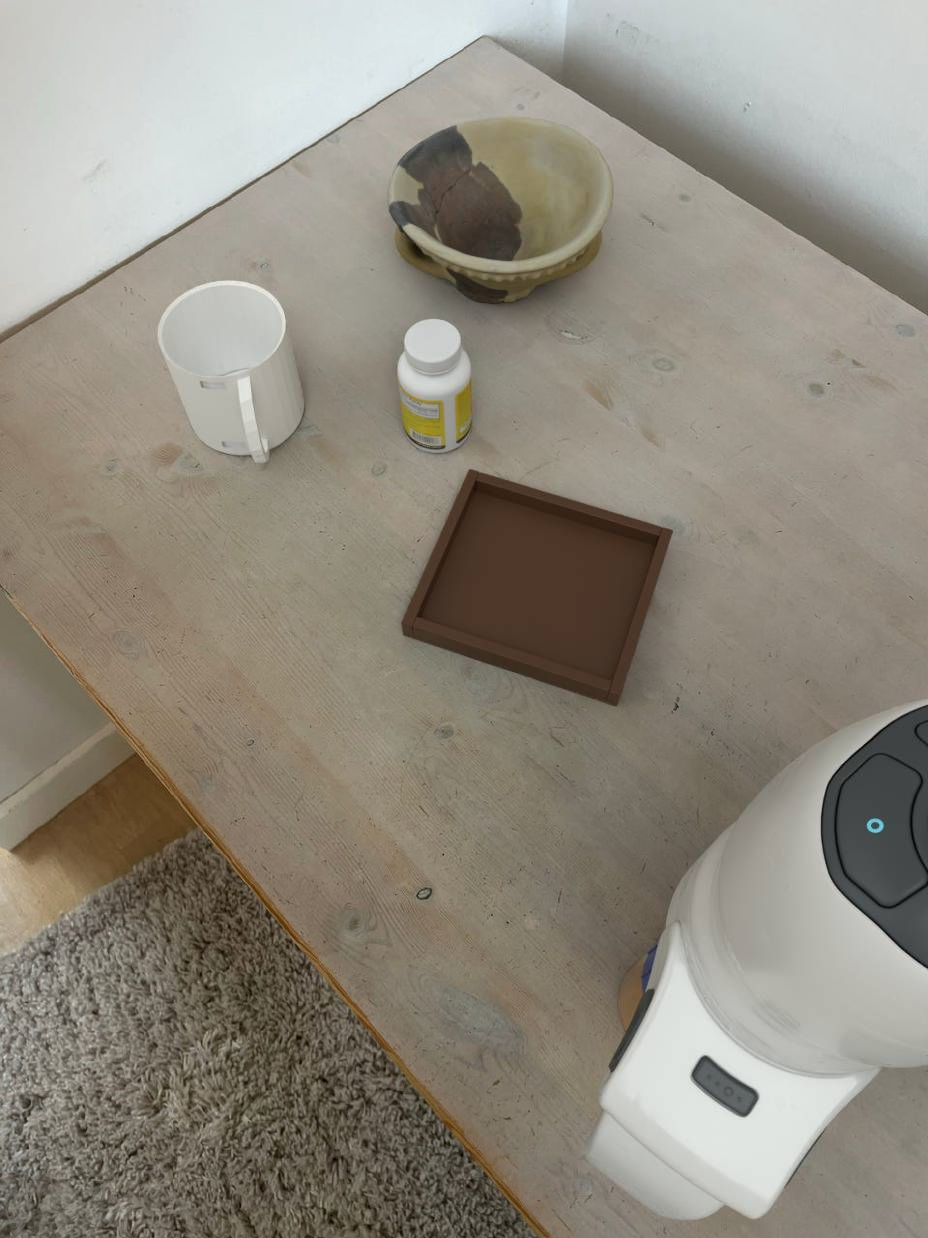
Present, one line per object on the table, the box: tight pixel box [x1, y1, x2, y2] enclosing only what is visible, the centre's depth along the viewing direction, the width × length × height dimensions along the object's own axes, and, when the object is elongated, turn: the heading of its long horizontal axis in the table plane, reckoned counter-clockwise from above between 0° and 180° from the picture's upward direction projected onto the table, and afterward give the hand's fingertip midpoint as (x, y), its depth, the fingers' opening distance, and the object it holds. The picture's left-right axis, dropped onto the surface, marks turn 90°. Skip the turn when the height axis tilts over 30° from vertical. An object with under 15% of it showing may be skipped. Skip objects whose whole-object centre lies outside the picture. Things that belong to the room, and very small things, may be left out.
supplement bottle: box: [396, 318, 473, 454], centre depth 73 cm, size 5×5×10 cm
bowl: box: [386, 115, 615, 304], centre depth 80 cm, size 18×18×10 cm
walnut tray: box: [401, 468, 674, 707], centre depth 69 cm, size 16×14×2 cm
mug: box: [157, 280, 305, 465], centre depth 73 cm, size 12×9×9 cm
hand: (709, 986), depth 48 cm, fingers closed on jam lid, 6 cm apart
